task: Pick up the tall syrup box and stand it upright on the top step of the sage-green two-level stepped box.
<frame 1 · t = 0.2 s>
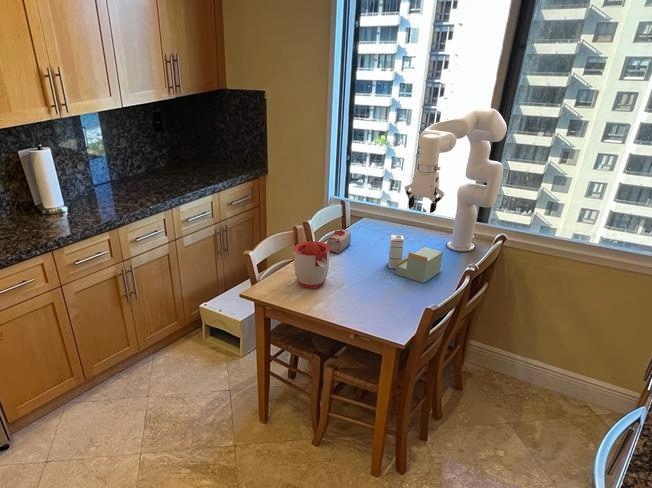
hand: (421, 209, 213), 31 cm above the table, tool pointing down, fingers open, 9 cm apart
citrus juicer: (312, 284, 229), on the table
stepped box: (417, 273, 232), on the table
syrup box: (394, 266, 240), on the table
food item: (338, 249, 260), on the table
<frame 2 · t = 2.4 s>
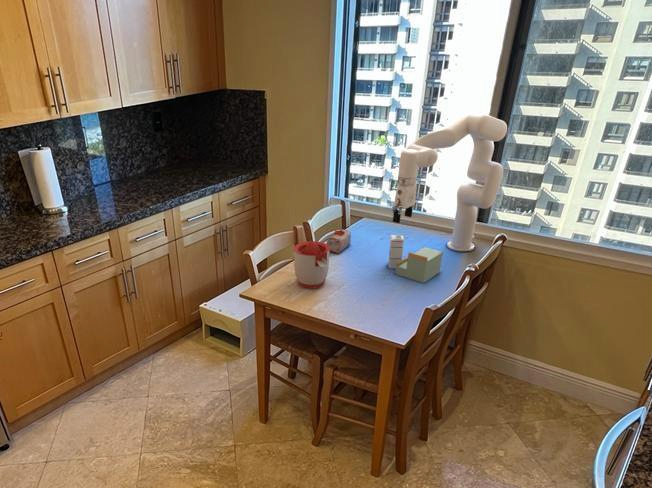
hand: (402, 219, 226), 23 cm above the table, tool pointing down, fingers open, 9 cm apart
nothing on the table moved.
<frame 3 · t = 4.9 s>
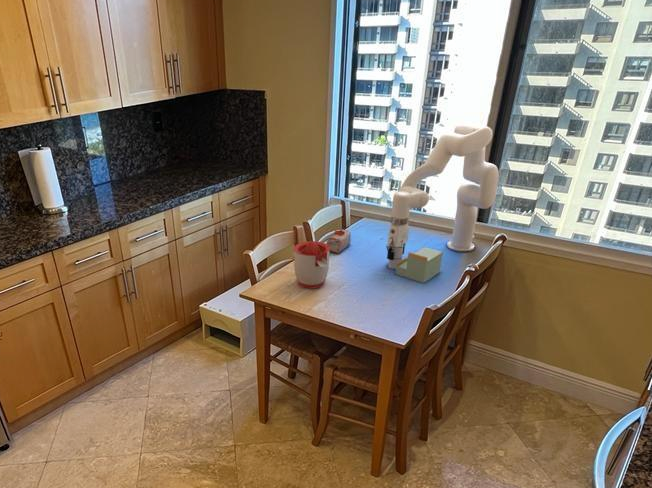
hand: (395, 256, 237), 5 cm above the table, tool pointing down, fingers closed on syrup box, 7 cm apart
syrup box: (394, 266, 240), on the table, touching gripper
everything else where it was.
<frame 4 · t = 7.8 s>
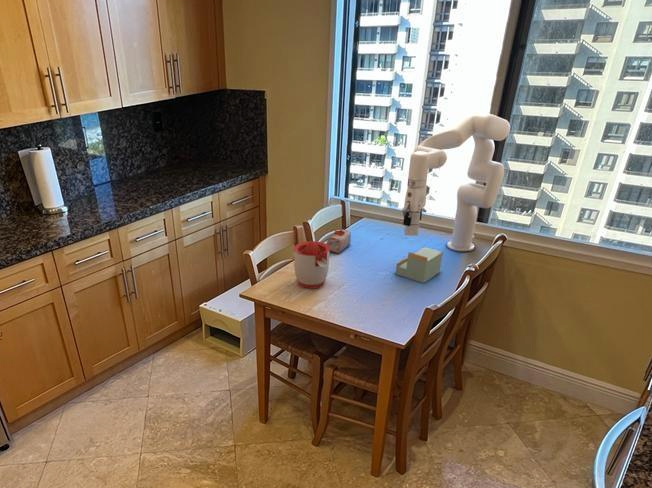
hand: (412, 222, 224), 23 cm above the table, tool pointing down, fingers closed on syrup box, 7 cm apart
syrup box: (410, 233, 227), point 17 cm above the table, touching gripper
everything else where it was.
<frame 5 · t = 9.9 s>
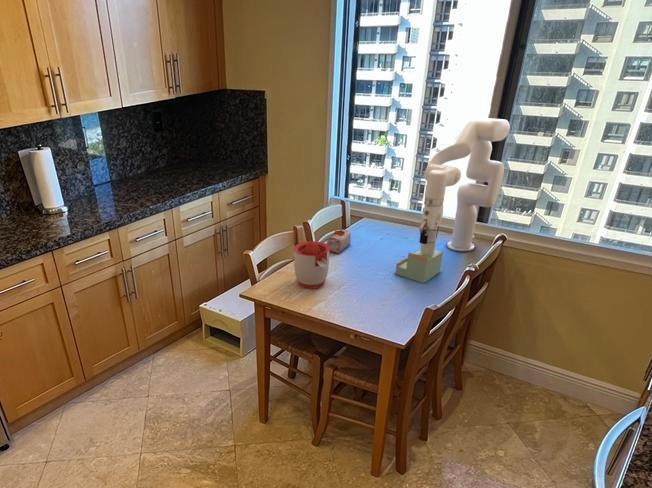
hand: (428, 240, 222), 16 cm above the table, tool pointing down, fingers closed on syrup box, 7 cm apart
syrup box: (426, 251, 225), point 11 cm above the table, touching gripper
everything else where it was.
when the fingers open (15 cm above the table, at t = 11.0 s): syrup box stays where it is, resting on stepped box.
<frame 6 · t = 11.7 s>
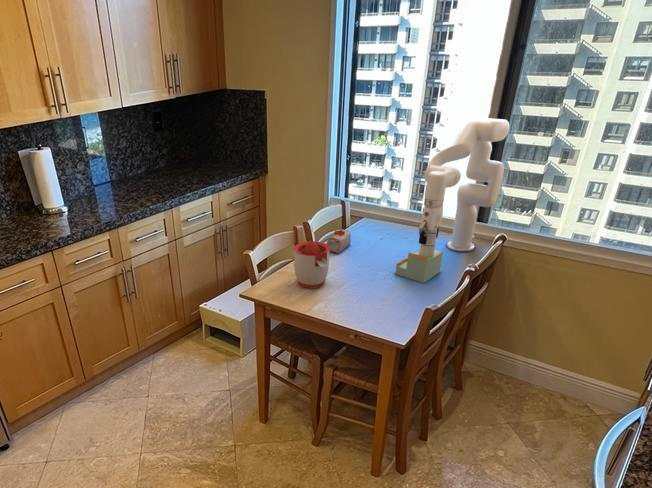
hand: (428, 240, 222), 16 cm above the table, tool pointing down, fingers open, 9 cm apart
syrup box: (426, 254, 226), point 10 cm above the table, touching stepped box
everything else where it was.
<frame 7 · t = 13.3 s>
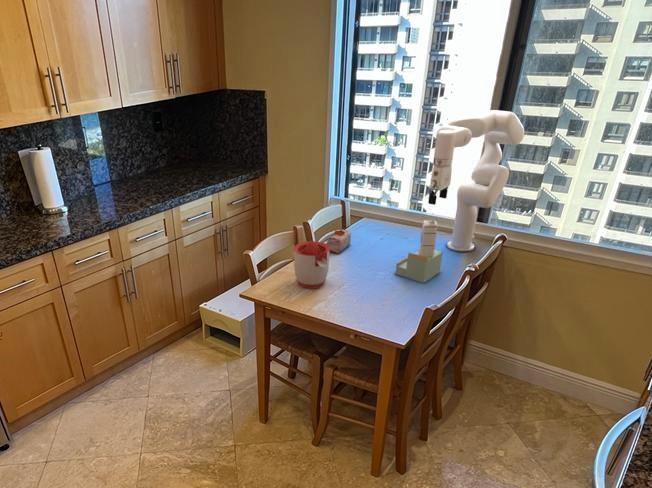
hand: (437, 200, 226), 30 cm above the table, tool pointing down, fingers open, 9 cm apart
nothing on the table moved.
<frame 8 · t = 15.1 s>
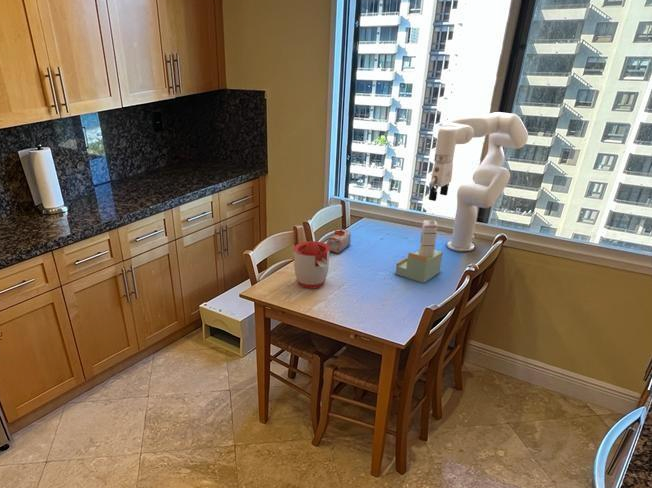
hand: (437, 197, 228), 30 cm above the table, tool pointing down, fingers open, 9 cm apart
nothing on the table moved.
at the end: syrup box inside the target area on the stepped box (0.4 cm from its centre), point 9.8 cm above the stepped box's base; syrup box tilted 0°; the gripper is holding nothing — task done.
